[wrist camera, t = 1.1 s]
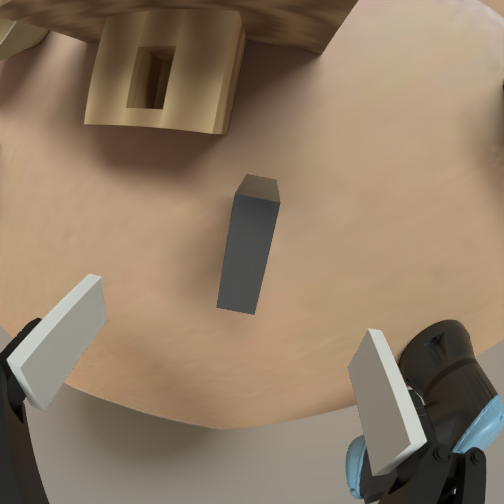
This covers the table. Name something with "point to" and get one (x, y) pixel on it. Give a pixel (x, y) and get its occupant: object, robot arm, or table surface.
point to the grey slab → (248, 243)
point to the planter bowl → (18, 37)
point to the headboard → (176, 51)
